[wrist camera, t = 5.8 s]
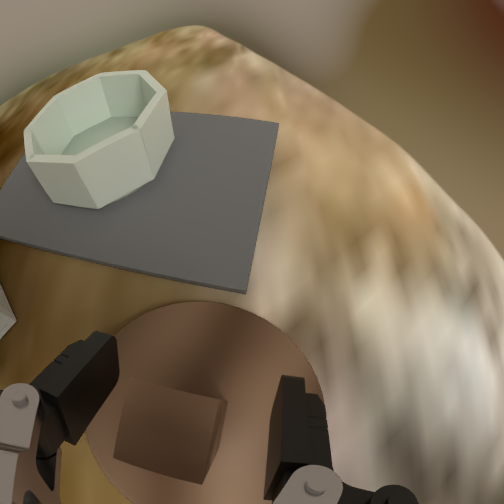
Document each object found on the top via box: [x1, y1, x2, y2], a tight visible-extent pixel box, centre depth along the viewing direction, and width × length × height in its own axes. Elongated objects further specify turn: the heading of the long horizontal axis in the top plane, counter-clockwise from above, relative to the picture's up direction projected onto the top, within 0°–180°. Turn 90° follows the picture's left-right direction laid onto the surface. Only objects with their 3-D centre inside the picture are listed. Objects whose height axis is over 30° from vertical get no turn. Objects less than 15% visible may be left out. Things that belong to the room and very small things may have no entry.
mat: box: [0, 112, 279, 294], centre depth 20 cm, size 22×14×1 cm, turn 80°
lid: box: [86, 302, 324, 504], centre depth 10 cm, size 12×12×8 cm
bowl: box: [24, 70, 174, 209], centre depth 18 cm, size 10×10×5 cm
